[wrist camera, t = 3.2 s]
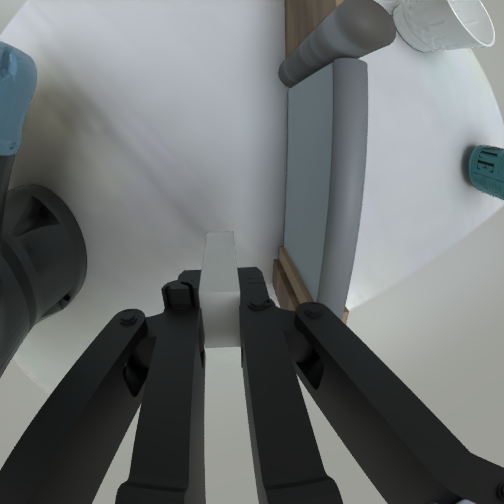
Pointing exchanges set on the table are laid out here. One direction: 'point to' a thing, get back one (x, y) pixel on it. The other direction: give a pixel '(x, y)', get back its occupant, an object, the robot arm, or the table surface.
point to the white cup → (444, 24)
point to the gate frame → (326, 60)
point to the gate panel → (325, 181)
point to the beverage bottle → (487, 170)
